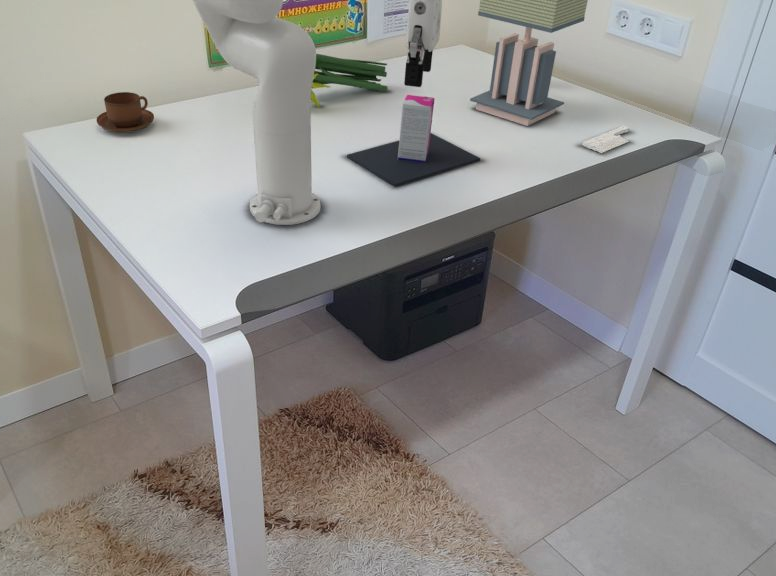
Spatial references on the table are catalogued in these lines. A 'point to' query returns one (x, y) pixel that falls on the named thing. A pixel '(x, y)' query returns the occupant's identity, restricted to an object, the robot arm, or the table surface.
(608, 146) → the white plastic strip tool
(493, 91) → the desk lamp
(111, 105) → the cup and saucer
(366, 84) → the daffodil flowers
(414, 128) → the supplement box
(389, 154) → the desk pad
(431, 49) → the robot arm
